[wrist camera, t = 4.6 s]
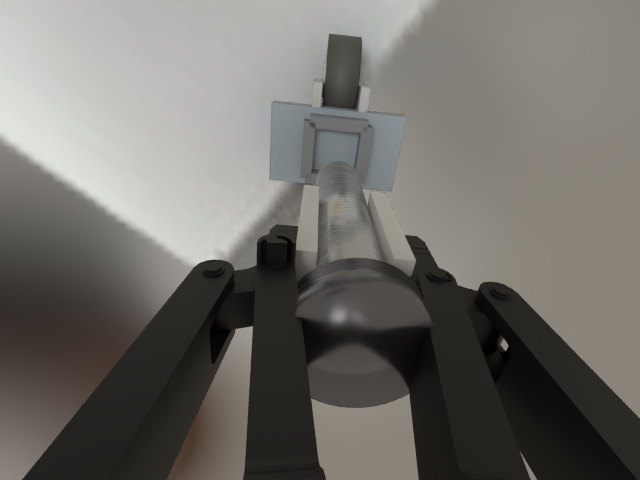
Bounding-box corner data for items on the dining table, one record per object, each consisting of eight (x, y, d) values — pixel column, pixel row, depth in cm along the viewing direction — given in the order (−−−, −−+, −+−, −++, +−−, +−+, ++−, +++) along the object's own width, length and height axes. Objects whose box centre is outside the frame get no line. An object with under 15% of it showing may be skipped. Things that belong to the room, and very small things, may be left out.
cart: (280, 154, 42) (267, 184, 32) (286, 31, 36) (271, 20, 26) (377, 164, 42) (394, 196, 32) (399, 44, 36) (427, 38, 26)
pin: (306, 144, 21) (282, 285, 8) (376, 151, 21) (460, 299, 8) (301, 210, 23) (275, 402, 10) (365, 216, 23) (418, 412, 11)
